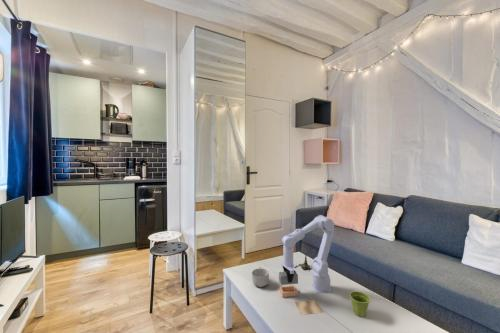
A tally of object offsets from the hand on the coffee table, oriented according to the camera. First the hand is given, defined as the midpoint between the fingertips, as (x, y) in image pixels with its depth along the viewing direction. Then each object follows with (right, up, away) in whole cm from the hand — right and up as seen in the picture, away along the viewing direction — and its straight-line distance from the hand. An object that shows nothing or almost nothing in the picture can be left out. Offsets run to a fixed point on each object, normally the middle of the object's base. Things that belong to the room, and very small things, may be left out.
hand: (288, 279), depth 132 cm
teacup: (-16, -9, +13) cm, 22 cm away
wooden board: (+9, -9, -11) cm, 17 cm away
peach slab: (0, -9, +1) cm, 9 cm away
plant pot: (+34, -9, -16) cm, 39 cm away
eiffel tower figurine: (+18, -8, +30) cm, 36 cm away
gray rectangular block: (0, -2, 0) cm, 2 cm away
